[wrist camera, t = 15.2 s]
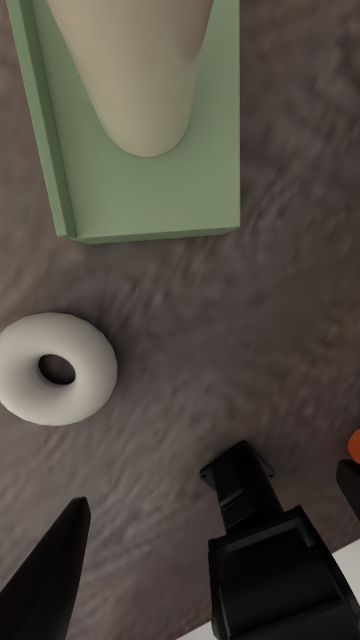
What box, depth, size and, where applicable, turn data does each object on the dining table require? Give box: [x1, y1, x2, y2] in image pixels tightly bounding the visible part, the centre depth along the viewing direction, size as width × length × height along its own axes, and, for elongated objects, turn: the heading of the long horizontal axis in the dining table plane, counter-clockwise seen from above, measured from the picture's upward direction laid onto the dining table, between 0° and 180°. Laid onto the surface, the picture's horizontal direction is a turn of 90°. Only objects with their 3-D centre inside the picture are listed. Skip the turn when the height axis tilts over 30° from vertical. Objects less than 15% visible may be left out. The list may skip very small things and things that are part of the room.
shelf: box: [6, 0, 240, 245], centre depth 13 cm, size 16×11×6 cm
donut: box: [0, 312, 118, 426], centre depth 18 cm, size 10×4×10 cm
